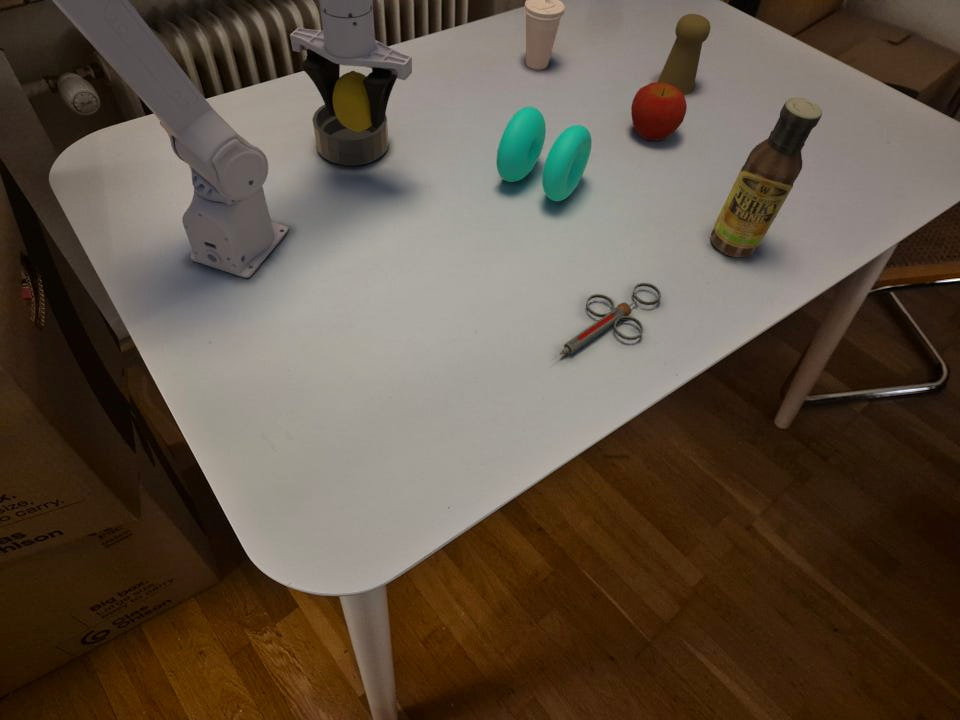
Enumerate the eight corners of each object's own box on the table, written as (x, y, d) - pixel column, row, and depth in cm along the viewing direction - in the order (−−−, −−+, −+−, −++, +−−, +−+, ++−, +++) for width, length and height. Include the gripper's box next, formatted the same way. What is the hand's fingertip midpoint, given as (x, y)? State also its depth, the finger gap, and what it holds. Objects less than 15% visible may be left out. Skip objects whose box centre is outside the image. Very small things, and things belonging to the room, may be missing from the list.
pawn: (650, 79, 111) (669, 11, 103) (679, 72, 113) (700, 6, 104) (671, 97, 108) (692, 30, 99) (701, 91, 110) (724, 24, 101)
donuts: (524, 154, 96) (533, 90, 88) (586, 179, 94) (601, 115, 86) (489, 190, 91) (495, 125, 83) (554, 218, 88) (567, 154, 80)
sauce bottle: (703, 250, 86) (765, 111, 70) (714, 222, 90) (775, 83, 74) (753, 267, 85) (827, 128, 69) (761, 238, 88) (834, 99, 72)
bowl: (369, 175, 91) (366, 147, 88) (304, 157, 93) (299, 128, 89) (399, 137, 97) (398, 109, 93) (337, 120, 99) (334, 91, 95)
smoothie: (562, 62, 113) (577, -26, 102) (544, 78, 109) (557, -12, 98) (529, 50, 115) (540, -38, 104) (510, 65, 111) (520, -24, 100)
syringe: (524, 344, 74) (526, 335, 73) (629, 274, 82) (633, 264, 81) (573, 388, 71) (576, 379, 70) (678, 311, 79) (682, 301, 78)
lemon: (384, 121, 86) (380, 62, 80) (375, 146, 83) (370, 86, 77) (342, 116, 87) (335, 57, 80) (331, 141, 83) (323, 81, 77)
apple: (686, 144, 100) (703, 96, 94) (641, 153, 98) (655, 105, 92) (659, 116, 105) (674, 69, 98) (616, 124, 102) (628, 76, 96)
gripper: (422, 5, 74) (423, 115, 84) (306, -23, 76) (321, 87, 87) (395, 33, 69) (399, 145, 80) (272, 2, 72) (293, 115, 83)
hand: (357, 117), depth 83 cm, fingers closed on lemon, 5 cm apart
